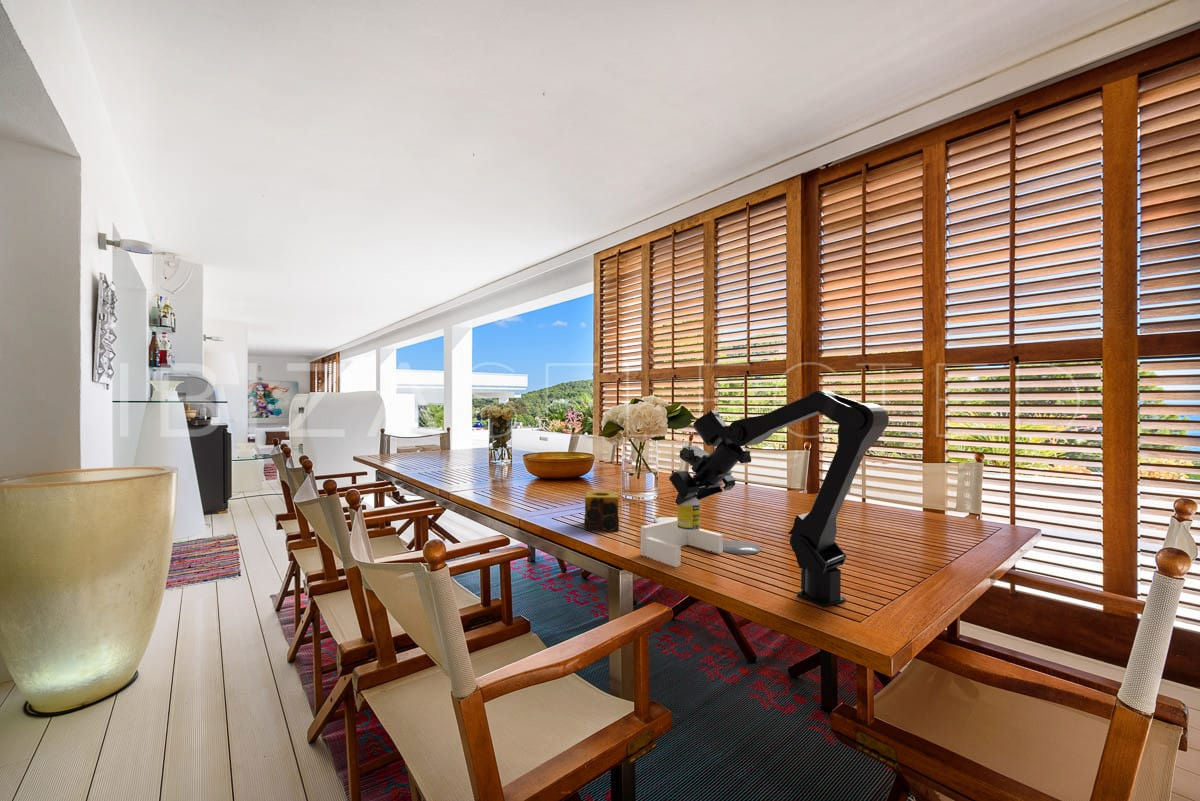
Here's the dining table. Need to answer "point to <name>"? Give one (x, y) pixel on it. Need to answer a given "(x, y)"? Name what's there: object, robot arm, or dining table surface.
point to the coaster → (740, 547)
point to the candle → (601, 511)
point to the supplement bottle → (689, 516)
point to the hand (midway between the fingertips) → (684, 502)
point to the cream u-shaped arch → (675, 541)
